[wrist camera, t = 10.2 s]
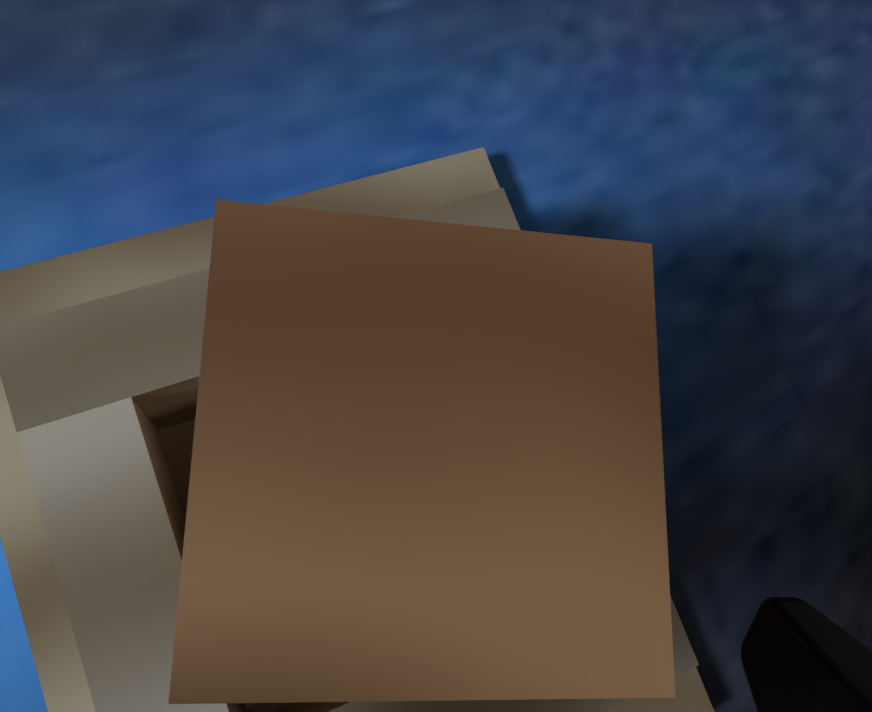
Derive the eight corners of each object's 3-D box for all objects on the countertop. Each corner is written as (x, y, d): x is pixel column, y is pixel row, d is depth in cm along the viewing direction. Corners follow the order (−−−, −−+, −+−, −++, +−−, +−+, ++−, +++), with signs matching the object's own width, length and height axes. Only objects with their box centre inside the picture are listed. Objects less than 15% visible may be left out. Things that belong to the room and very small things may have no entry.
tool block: (699, 719, 21) (829, 767, 16) (143, 1002, 17) (93, 1177, 12) (474, 164, 23) (527, 61, 18) (-52, 302, 19) (-155, 218, 15)
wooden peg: (429, 615, 19) (675, 697, 7) (231, 613, 18) (167, 704, 7) (433, 424, 20) (652, 243, 9) (246, 415, 19) (216, 199, 8)
